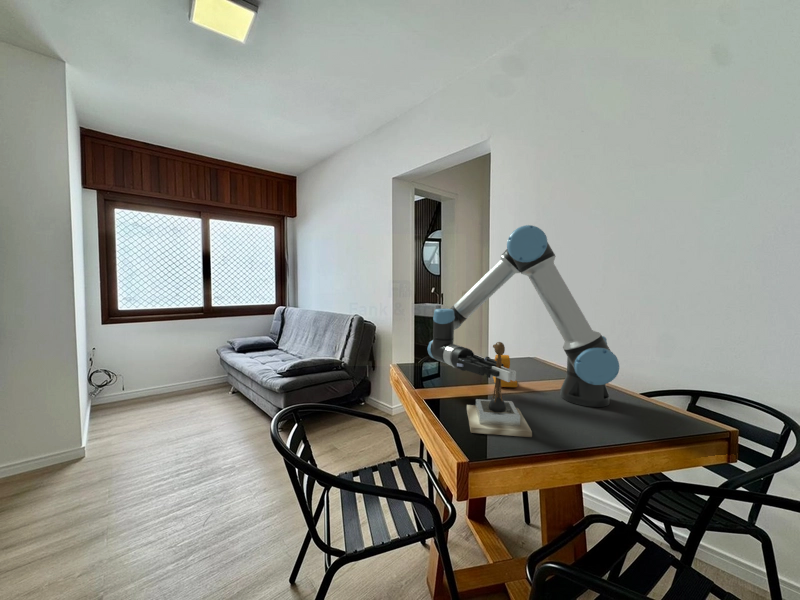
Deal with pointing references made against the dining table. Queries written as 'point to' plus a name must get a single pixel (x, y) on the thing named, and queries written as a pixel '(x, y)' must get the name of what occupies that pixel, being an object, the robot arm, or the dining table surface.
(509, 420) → the collar
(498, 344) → the wooden tabletop sculpture
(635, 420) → the dining table surface
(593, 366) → the robot arm
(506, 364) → the bracket
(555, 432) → the dining table surface
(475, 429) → the stand
